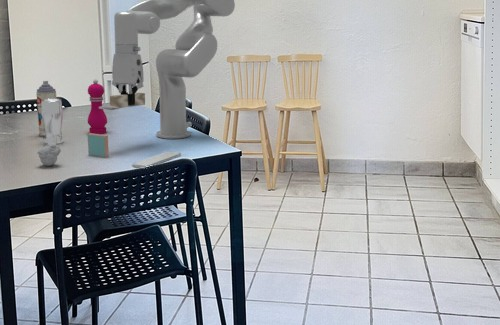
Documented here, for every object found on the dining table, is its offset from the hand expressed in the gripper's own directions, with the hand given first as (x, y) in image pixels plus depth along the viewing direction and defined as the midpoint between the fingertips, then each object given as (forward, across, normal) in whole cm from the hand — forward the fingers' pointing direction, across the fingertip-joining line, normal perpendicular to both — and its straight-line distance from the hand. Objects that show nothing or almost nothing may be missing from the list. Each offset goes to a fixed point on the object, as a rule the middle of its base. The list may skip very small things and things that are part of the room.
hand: (127, 104), depth 223 cm
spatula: (+1, 0, +2) cm, 2 cm away
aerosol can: (+15, +36, 0) cm, 39 cm away
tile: (+15, 0, +16) cm, 22 cm away
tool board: (+15, -21, +12) cm, 28 cm away
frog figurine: (+15, +4, +33) cm, 37 cm away
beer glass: (+15, +26, +8) cm, 31 cm away
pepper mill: (+14, +24, -13) cm, 31 cm away
